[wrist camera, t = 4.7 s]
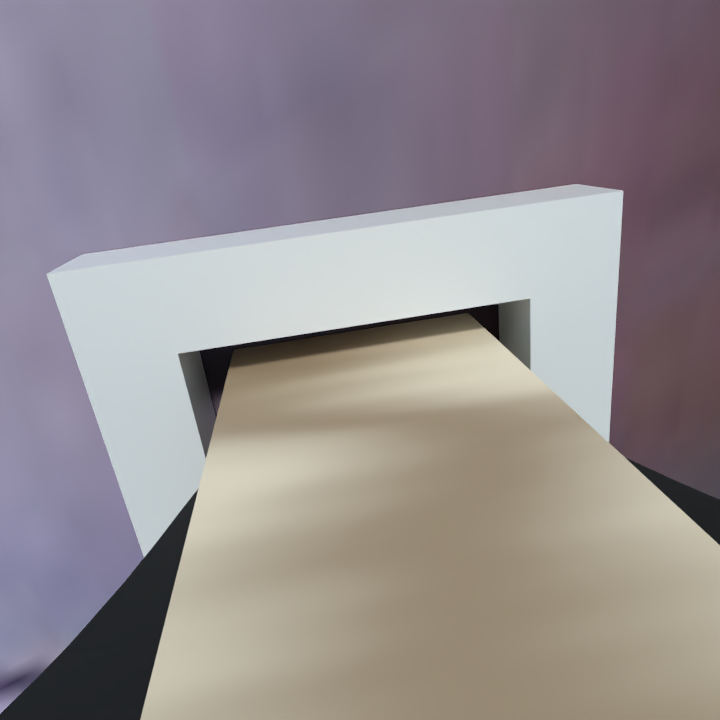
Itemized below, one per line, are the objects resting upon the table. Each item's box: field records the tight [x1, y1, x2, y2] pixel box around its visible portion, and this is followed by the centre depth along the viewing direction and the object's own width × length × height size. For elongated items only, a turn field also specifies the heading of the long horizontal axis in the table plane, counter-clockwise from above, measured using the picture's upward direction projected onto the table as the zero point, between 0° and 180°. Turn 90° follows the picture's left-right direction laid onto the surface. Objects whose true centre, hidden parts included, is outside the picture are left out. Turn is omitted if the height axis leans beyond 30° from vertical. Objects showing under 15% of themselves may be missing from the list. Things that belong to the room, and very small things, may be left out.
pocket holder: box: [47, 184, 623, 557], centre depth 11 cm, size 9×9×2 cm
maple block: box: [140, 313, 720, 720], centre depth 8 cm, size 4×4×8 cm
